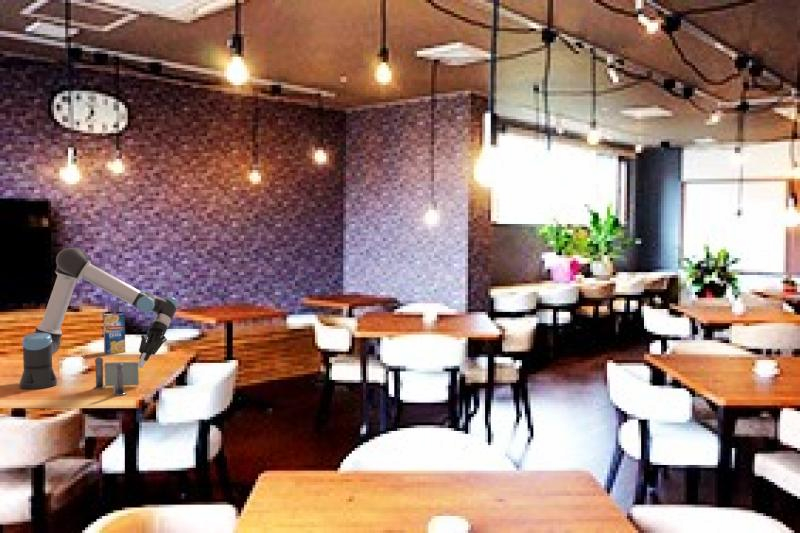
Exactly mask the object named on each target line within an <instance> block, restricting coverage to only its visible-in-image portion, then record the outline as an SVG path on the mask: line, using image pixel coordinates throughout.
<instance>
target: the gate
mask: <svg viewBox="0 0 800 533" xmlns="http://www.w3.org/2000/svg"><path fill="white" fill-rule="evenodd" d="M138 362H139V361H131V362H130V361H125V362H122V361H121V362H105V363H104V386H106V387H113V385H117V367H116V366H117V364H118V363H122V364H123V386H138V385H139V379H140V376H139V366H138Z"/></svg>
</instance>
